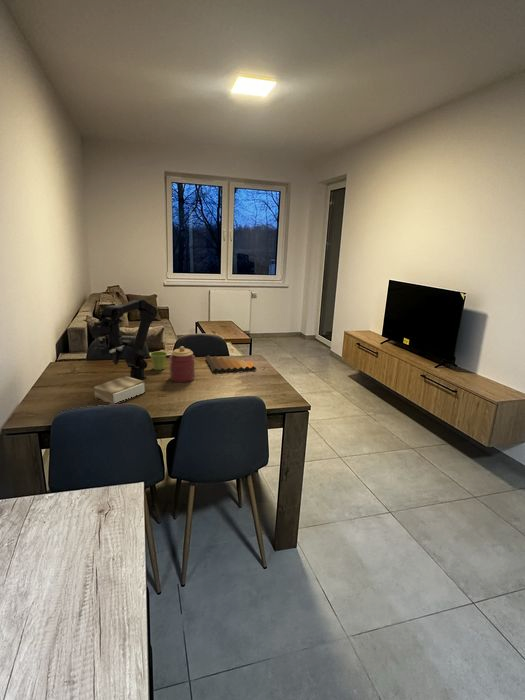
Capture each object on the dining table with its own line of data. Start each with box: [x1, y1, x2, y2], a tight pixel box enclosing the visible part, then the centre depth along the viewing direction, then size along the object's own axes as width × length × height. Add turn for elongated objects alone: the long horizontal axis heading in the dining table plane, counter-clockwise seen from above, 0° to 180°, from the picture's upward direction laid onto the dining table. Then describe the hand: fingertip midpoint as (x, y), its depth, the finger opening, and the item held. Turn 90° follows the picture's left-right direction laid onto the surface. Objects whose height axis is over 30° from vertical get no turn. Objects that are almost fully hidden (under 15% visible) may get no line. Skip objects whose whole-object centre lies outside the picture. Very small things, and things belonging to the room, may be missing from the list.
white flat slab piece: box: [113, 381, 146, 404], centre depth 182 cm, size 18×1×5 cm, turn 148°
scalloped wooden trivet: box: [205, 354, 257, 374], centre depth 235 cm, size 25×3×25 cm
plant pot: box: [149, 351, 168, 371], centre depth 223 cm, size 9×9×9 cm
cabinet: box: [93, 375, 144, 403], centre depth 186 cm, size 18×12×6 cm, turn 149°
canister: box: [169, 345, 196, 383], centre depth 208 cm, size 13×13×18 cm
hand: (115, 364), depth 192 cm, fingers closed
